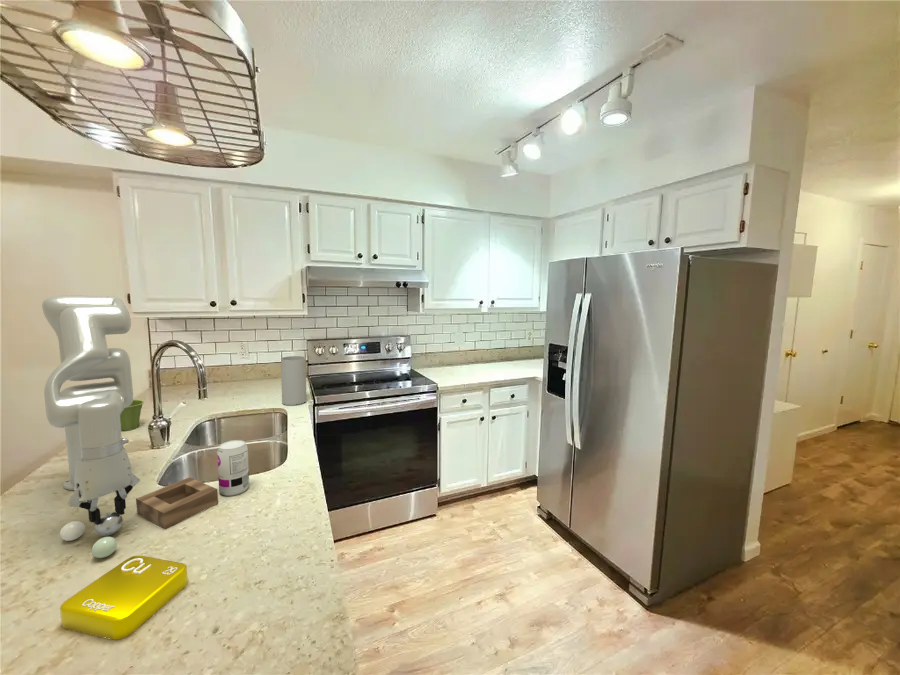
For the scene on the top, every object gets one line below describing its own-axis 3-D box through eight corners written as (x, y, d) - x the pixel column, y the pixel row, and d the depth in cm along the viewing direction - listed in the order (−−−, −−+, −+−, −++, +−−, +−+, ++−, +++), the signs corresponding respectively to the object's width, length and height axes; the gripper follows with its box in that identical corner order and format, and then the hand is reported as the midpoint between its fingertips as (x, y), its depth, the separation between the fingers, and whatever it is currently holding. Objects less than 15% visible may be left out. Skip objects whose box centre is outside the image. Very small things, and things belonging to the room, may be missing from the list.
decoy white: (57, 541, 94) (55, 524, 93) (80, 531, 98) (79, 515, 97) (65, 547, 92) (63, 530, 91) (88, 536, 96) (87, 520, 95)
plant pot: (130, 433, 160) (128, 408, 159) (102, 432, 161) (100, 407, 159) (152, 424, 172) (150, 400, 171) (126, 423, 172) (124, 399, 171)
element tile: (55, 628, 71) (53, 605, 70) (135, 570, 86) (133, 551, 85) (122, 644, 68) (119, 620, 68) (192, 581, 83) (191, 561, 82)
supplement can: (215, 498, 114) (213, 451, 112) (223, 484, 122) (221, 440, 120) (245, 495, 116) (243, 448, 115) (251, 482, 124) (250, 438, 122)
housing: (137, 513, 106) (135, 498, 105) (190, 490, 118) (189, 477, 118) (164, 529, 99) (163, 513, 99) (218, 503, 112) (217, 489, 111)
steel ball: (91, 536, 95) (89, 516, 95) (117, 524, 100) (115, 505, 99) (101, 543, 93) (99, 523, 92) (127, 531, 98) (126, 511, 97)
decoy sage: (88, 558, 88) (87, 540, 88) (112, 547, 92) (110, 530, 92) (97, 565, 86) (96, 547, 86) (121, 553, 90) (119, 536, 90)
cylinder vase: (276, 404, 206) (275, 359, 203) (292, 398, 218) (291, 355, 215) (296, 407, 202) (295, 361, 199) (311, 400, 214) (310, 357, 211)
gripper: (134, 434, 103) (139, 498, 105) (48, 458, 88) (56, 531, 90) (149, 440, 99) (154, 505, 102) (62, 466, 84) (70, 542, 87)
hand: (108, 517), depth 96 cm, fingers closed on steel ball, 4 cm apart
